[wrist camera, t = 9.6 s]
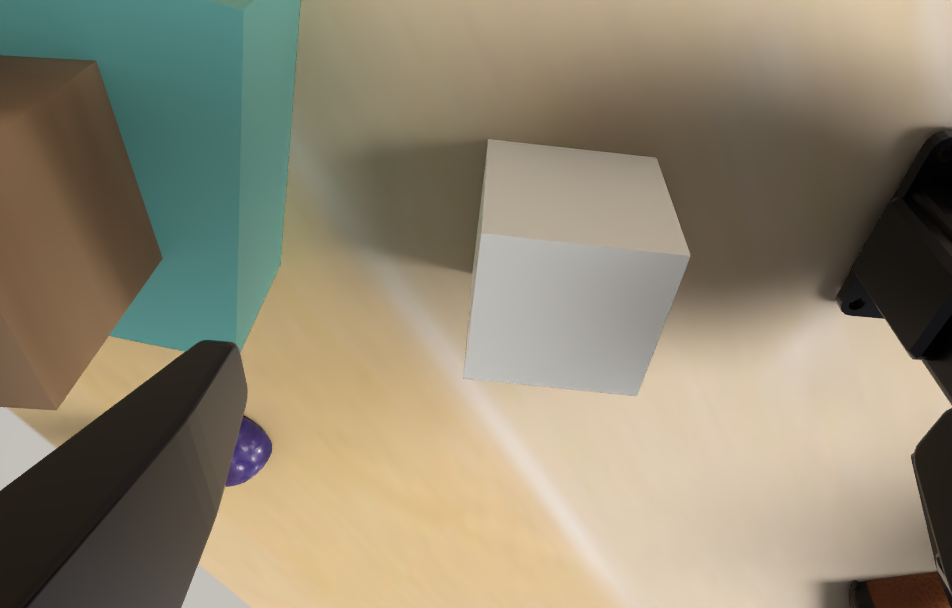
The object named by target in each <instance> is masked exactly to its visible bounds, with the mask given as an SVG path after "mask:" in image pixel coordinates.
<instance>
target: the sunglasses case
mask: <svg viewBox="0 0 952 608" xmlns="http://www.w3.org/2000/svg"><path fill="white" fill-rule="evenodd" d="M849 604H850V608H951V607H950V605H949V603H948V600H947V596H946V594H945V592H944V590H943V587H942V584H941V581H940V578H939V575H938V572H932V573H924V574H915V575H908V576H899V577H892V578H886V579H885V578H884V579H875V580H869V581H864V582H858V581H857V580H854V581H853V583H852V585H851V589H850V590H849Z"/></svg>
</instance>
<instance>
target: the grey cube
mask: <svg viewBox="0 0 952 608" xmlns="http://www.w3.org/2000/svg"><path fill="white" fill-rule="evenodd" d="M690 257H691V255H690V252H689V249H688V246H687V243H686V241H685V238H684V235H683V232H682V229H681V226H680V223H679V221H678V218H677V215H676V212H675V209H674V206H673V203H672V201H671V198H670V195H669V192H668V189H667V186H666V183H665V180H664V178H663V175H662V172H661V169H660V166H659V163H658V160H657V158H655V157H646V156H637V155H628V154H619V153H610V152H601V151H592V150H583V149H574V148H565V147H556V146H547V145H538V144H529V143H520V142H511V141H502V140H493V139H488V145H487V153H486V162H485V170H484V179H483V187H482V195H481V204H480V212H479V221H478V229H477V238H476V246H475V254H474V263H473V271H472V282H471V294H470V306H469V318H468V330H467V342H466V354H465V366H464V378H463V379H472V380H482V381H492V382H502V383H512V384H522V385H532V386H541V387H551V388H561V389H571V390H581V391H591V392H600V393H610V394H620V395H630V396H637V394H638V392H639V389H640V387H641V384H642V381H643V379H644V376H645V374H646V371H647V368H648V366H649V363H650V361H651V358H652V355H653V353H654V350H655V348H656V345H657V342H658V340H659V337H660V335H661V332H662V329H663V327H664V324H665V322H666V319H667V316H668V314H669V311H670V309H671V306H672V303H673V301H674V298H675V296H676V293H677V291H678V288H679V285H680V283H681V280H682V278H683V275H684V272H685V270H686V267H687V265H688V262H689V259H690Z"/></svg>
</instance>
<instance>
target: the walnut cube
mask: <svg viewBox="0 0 952 608" xmlns="http://www.w3.org/2000/svg"><path fill="white" fill-rule="evenodd" d="M162 259H163V258H162V255H161V252H160V249H159V246H158V243H157V240H156V237H155V234H154V231H153V228H152V225H151V222H150V219H149V216H148V213H147V210H146V207H145V204H144V201H143V198H142V195H141V192H140V189H139V186H138V183H137V181H136V178H135V175H134V172H133V169H132V166H131V163H130V160H129V157H128V154H127V151H126V148H125V145H124V142H123V139H122V136H121V133H120V130H119V127H118V124H117V121H116V118H115V115H114V112H113V109H112V106H111V103H110V100H109V97H108V94H107V92H106V89H105V86H104V83H103V80H102V77H101V74H100V71H99V68H98V65H97V62H96V61H92V60H74V59H57V58H39V57H22V56H4V55H0V407H12V408H28V409H44V410H57V409H58V407H59V406H60V405H61V403H62V402H63V400H64V399H65V397H66V396H67V395H68V393H69V392H70V390H71V389H72V387H73V386H74V385H75V383H76V382H77V380H78V379H79V377H80V376H81V375H82V373H83V372H84V370H85V369H86V367H87V366H88V365H89V363H90V362H91V360H92V359H93V357H94V356H95V355H96V353H97V352H98V350H99V349H100V347H101V346H102V345H103V343H104V342H105V340H106V339H107V337H108V336H109V335H110V333H111V332H112V330H113V329H114V328H115V326H116V325H117V323H118V322H119V320H120V319H121V318H122V316H123V315H124V313H125V312H126V310H127V309H128V308H129V306H130V305H131V303H132V302H133V300H134V299H135V298H136V296H137V295H138V293H139V292H140V290H141V289H142V288H143V286H144V285H145V283H146V282H147V280H148V279H149V278H150V276H151V275H152V273H153V272H154V270H155V269H156V268H157V266H158V265H159V263H160V262H161V260H162Z"/></svg>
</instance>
